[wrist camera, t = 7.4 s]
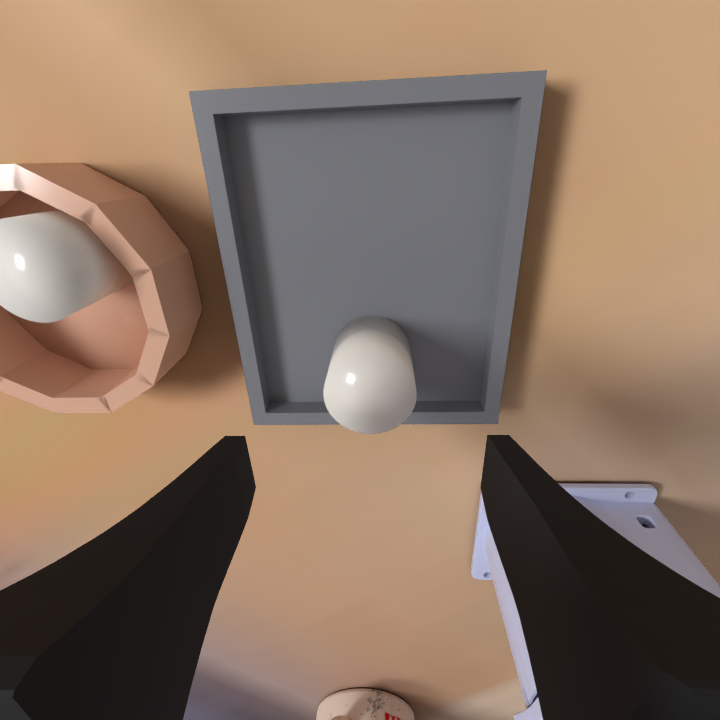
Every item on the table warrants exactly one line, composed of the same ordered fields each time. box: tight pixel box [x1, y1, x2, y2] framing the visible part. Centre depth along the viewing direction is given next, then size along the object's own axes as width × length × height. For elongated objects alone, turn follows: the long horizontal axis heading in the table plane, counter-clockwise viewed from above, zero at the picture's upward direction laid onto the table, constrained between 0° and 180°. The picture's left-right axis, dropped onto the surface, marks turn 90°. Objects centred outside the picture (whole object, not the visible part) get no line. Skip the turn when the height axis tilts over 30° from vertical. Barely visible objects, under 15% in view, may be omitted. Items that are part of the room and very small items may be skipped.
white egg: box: [0, 210, 133, 323], centre depth 15 cm, size 4×4×4 cm
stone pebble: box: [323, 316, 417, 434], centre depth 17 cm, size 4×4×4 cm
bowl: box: [0, 163, 203, 413], centre depth 17 cm, size 10×10×3 cm
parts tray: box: [189, 70, 547, 425], centre depth 17 cm, size 12×14×2 cm
